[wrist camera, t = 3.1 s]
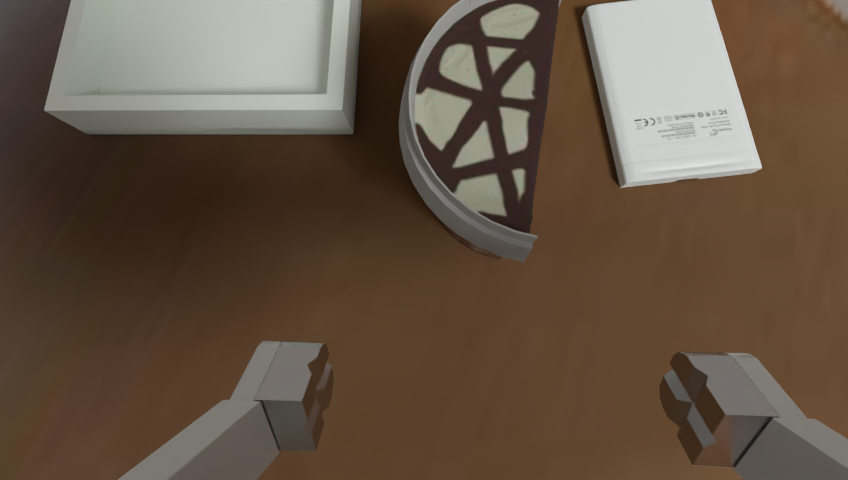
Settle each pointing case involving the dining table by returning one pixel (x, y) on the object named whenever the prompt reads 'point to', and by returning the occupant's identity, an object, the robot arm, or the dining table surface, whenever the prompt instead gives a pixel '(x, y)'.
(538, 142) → the food container
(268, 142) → the dining table surface
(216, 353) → the dining table surface
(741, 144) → the external hard drive
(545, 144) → the dining table surface
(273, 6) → the tray
